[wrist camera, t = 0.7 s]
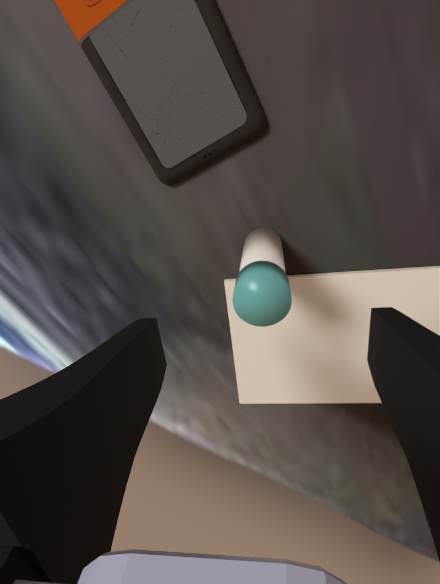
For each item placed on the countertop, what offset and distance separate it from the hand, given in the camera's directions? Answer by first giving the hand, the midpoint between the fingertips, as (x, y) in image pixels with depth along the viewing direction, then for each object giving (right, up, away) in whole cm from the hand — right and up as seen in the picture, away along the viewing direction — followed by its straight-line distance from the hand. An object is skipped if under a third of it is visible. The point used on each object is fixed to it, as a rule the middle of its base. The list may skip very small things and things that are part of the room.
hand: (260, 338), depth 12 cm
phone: (-5, +15, +5) cm, 17 cm away
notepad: (+6, -2, +11) cm, 13 cm away
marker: (+1, +4, +9) cm, 10 cm away
